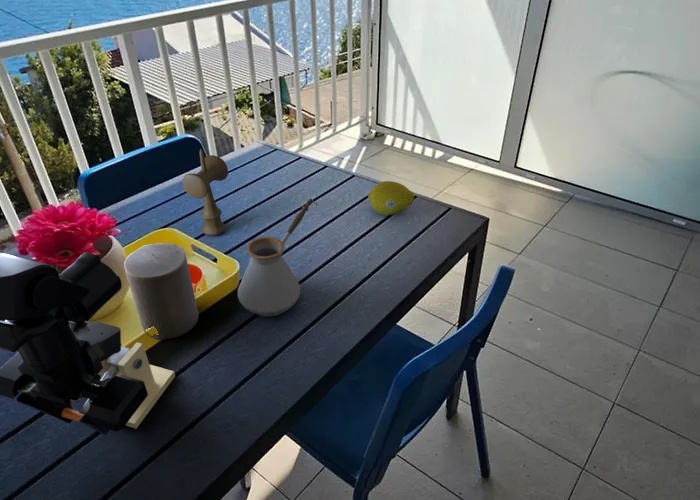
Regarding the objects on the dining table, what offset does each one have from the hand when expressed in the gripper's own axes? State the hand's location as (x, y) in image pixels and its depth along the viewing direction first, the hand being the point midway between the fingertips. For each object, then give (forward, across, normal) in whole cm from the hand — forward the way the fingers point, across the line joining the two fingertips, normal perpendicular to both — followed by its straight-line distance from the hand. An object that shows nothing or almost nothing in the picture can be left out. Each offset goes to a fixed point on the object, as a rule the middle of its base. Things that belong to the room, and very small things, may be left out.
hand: (89, 426), depth 68 cm
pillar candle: (+4, +4, -24) cm, 25 cm away
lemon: (+5, -25, -72) cm, 77 cm away
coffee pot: (+4, -12, -39) cm, 41 cm away
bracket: (+4, 0, -8) cm, 9 cm away
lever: (-2, 0, -5) cm, 5 cm away
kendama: (+4, +11, -52) cm, 53 cm away
